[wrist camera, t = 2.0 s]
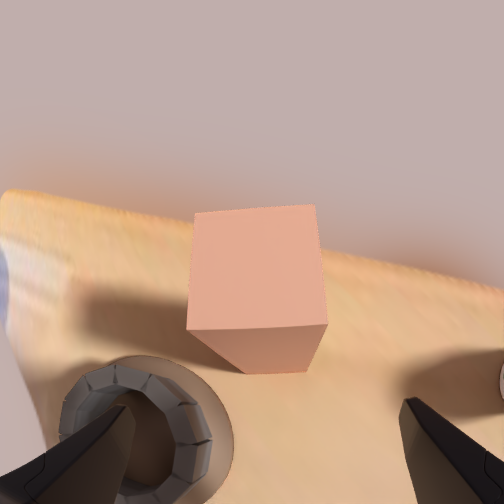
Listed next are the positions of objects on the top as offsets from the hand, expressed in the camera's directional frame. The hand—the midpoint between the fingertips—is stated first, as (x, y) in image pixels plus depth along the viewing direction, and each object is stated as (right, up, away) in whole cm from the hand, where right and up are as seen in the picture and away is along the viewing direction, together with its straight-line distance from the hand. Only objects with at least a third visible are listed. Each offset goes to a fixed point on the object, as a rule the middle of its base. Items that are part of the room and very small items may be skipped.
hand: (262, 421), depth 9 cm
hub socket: (-7, -8, +10) cm, 15 cm away
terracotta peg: (+1, -1, +12) cm, 12 cm away
